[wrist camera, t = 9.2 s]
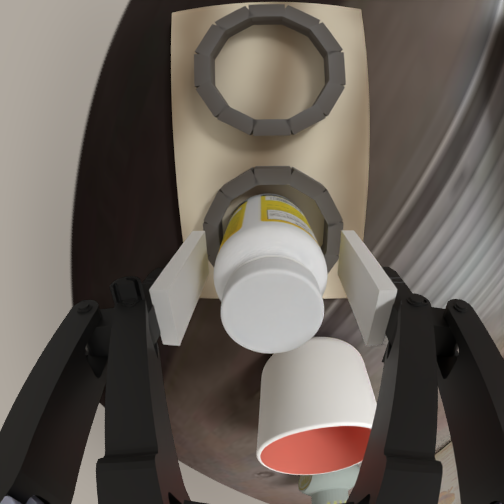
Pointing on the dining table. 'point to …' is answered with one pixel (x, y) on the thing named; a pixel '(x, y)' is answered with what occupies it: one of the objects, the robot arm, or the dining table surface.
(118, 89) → the dining table surface
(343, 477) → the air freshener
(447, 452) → the coffeecake box
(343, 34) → the caddy
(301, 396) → the cup
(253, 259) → the supplement bottle
